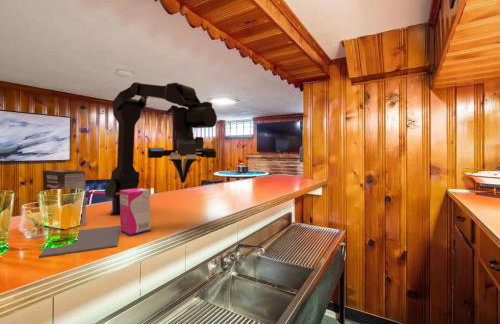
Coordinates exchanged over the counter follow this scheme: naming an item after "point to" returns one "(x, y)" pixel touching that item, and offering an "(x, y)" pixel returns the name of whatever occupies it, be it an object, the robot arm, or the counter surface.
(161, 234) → the counter surface
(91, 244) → the bar mat
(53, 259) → the counter surface
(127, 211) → the supplement box
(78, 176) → the coffee box
